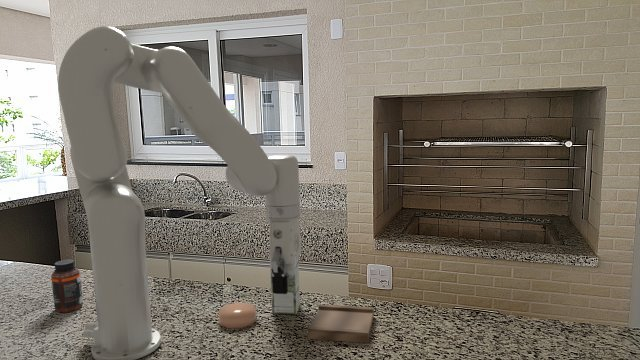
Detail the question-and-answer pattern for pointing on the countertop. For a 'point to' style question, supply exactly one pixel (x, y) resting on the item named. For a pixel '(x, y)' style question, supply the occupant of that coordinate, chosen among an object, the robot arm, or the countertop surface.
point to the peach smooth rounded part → (237, 315)
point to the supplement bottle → (66, 286)
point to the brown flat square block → (342, 323)
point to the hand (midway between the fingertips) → (286, 284)
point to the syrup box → (292, 298)
